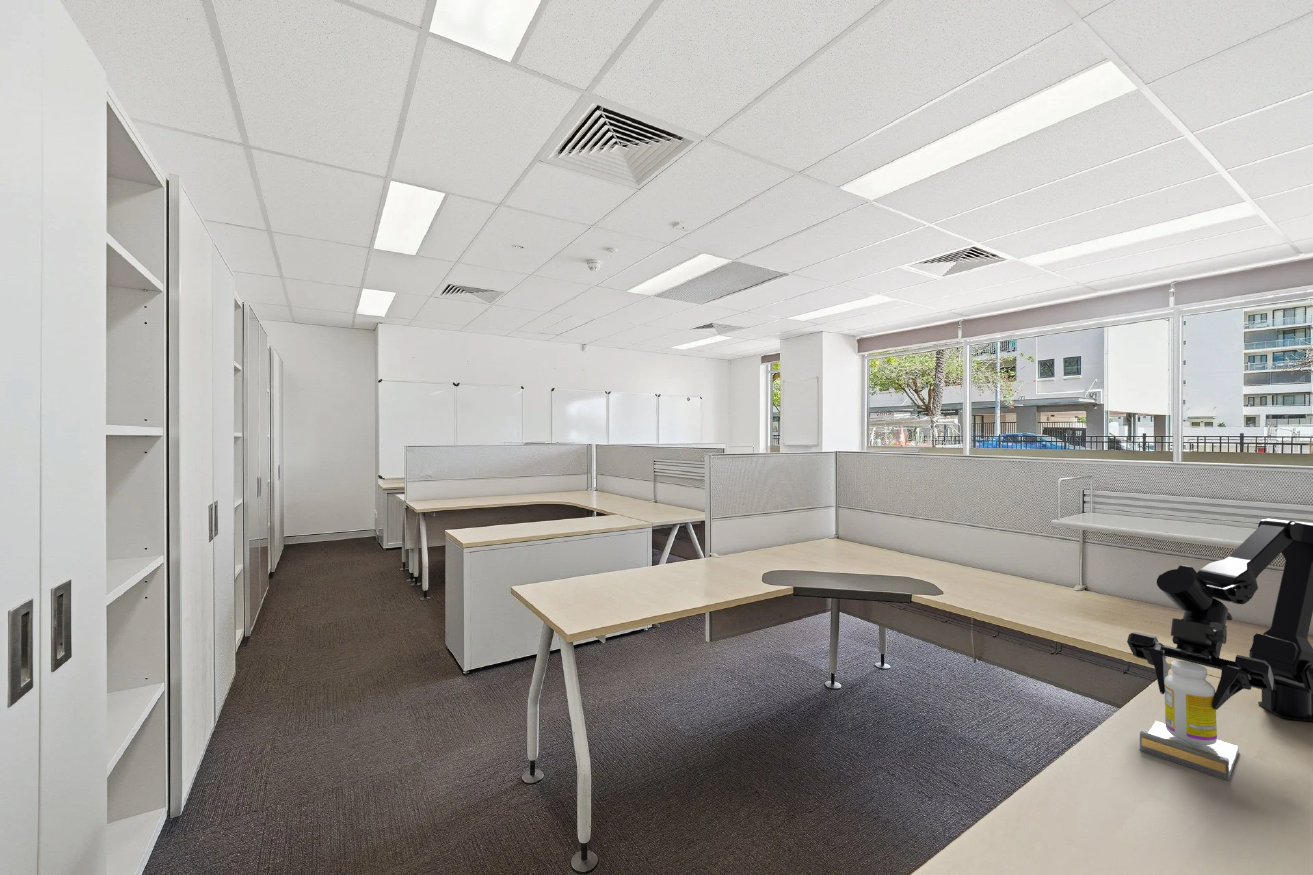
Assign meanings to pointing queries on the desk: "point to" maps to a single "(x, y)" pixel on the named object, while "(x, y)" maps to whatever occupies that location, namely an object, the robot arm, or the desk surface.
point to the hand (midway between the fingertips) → (1187, 700)
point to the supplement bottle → (1190, 704)
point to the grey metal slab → (1190, 752)
